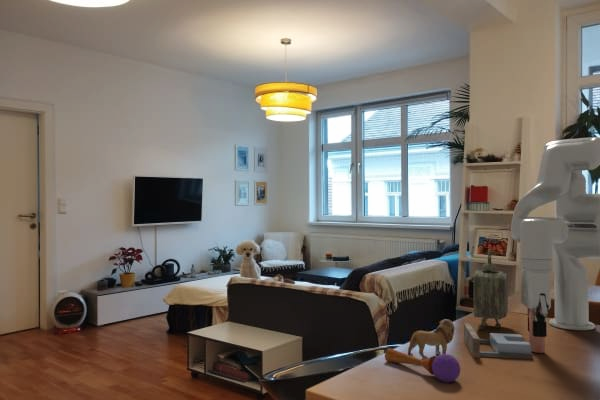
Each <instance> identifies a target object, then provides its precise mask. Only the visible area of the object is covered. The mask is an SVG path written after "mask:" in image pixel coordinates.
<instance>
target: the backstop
mask: <svg viewBox="0 0 600 400" xmlns="http://www.w3.org/2000/svg"><path fill="white" fill-rule="evenodd" d="M463 342H464V343H465V345H466V346H467V349H468V351H469V352H470V355H472V358H473V359H480V358H481V357H484V358H486V357H488V358H502V359H505V358H506V359H521V360H522V359H523V360H524V359H525V360H533V359H534V357H533V356H534V355H533V354H532V353H531V354H522V353H502V352H495V351H481V350H480V346H481V345H480V344H483V345H490V338H480V337H479V336H478V333H477V332H476V331H475V329H473V327H472V325H471V324H470V323H469V322H463Z"/></svg>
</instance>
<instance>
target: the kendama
mask: <svg viewBox="0 0 600 400" xmlns="http://www.w3.org/2000/svg"><path fill="white" fill-rule="evenodd" d="M384 359H385V361H386V362H390V363H395V364H397V363H398V364H408V365H416V366H417V365H419V366H422V367H423V368H424V369H425V370H426V371H427V372H428V373H429V374H430V375H432V376H434V377H435V378H436V379H437V380H439V381H440V382H444V383H446V384H447V383H451V382H454V381H456V380H457V379H458V378H459V376H460V375H461V366H460V363H459V361H458V360H457V359H456V358H455V357H454V356H453V355H452V354H451V355H450V354H447V353H446V354H442V353H441V354H438V355H437V356H436V355H432V356H429V357H427V359H420V358H417V357H415V356H410V355H408V353H407V354H406V353H403V352H402V351H398V350H396V349H393V348H387V349H386V350H385V352H384Z"/></svg>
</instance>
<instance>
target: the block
mask: <svg viewBox="0 0 600 400" xmlns="http://www.w3.org/2000/svg"><path fill="white" fill-rule="evenodd" d="M489 339H490V344H489V345H490V346H491V348H492V349H493V350H494V352H502V353H522V354H532V351H531V344H530V341H524V337H523V335H521V334H519V333H518V334H517V333H495V332H489Z"/></svg>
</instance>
